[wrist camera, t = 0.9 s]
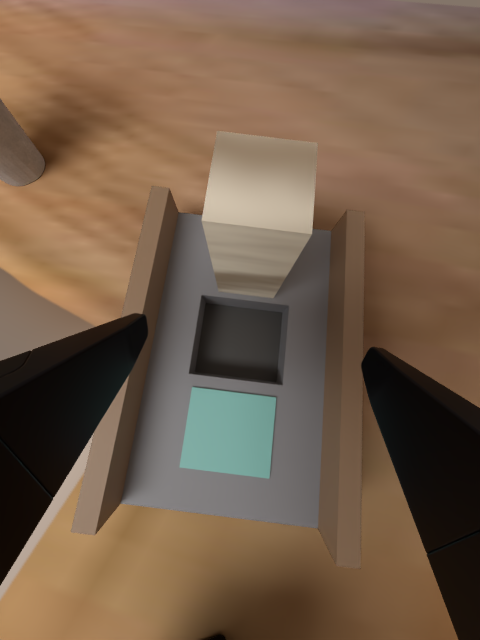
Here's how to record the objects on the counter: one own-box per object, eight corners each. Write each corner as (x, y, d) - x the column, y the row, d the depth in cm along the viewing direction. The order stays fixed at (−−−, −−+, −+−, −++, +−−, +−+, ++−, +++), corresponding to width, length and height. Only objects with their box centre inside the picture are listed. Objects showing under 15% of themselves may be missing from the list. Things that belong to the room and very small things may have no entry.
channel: (321, 504, 19) (360, 568, 13) (121, 479, 19) (70, 532, 13) (332, 248, 24) (364, 211, 18) (172, 229, 24) (151, 185, 18)
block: (273, 298, 19) (311, 234, 10) (218, 291, 19) (201, 220, 10) (278, 248, 20) (317, 143, 11) (226, 241, 20) (217, 130, 11)
